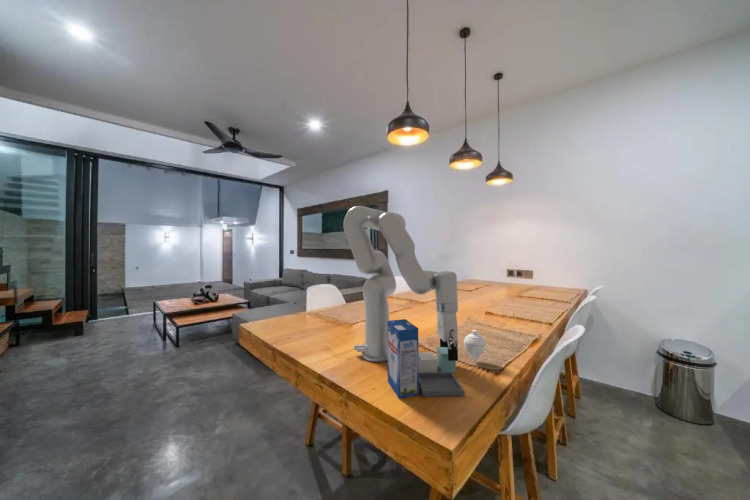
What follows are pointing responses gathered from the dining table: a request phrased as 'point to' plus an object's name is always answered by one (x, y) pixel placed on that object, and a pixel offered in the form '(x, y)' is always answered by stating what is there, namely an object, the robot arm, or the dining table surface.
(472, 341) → the spinning top
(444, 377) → the tray
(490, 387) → the dining table surface
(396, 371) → the milk carton
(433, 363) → the light grey block
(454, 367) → the teal block
